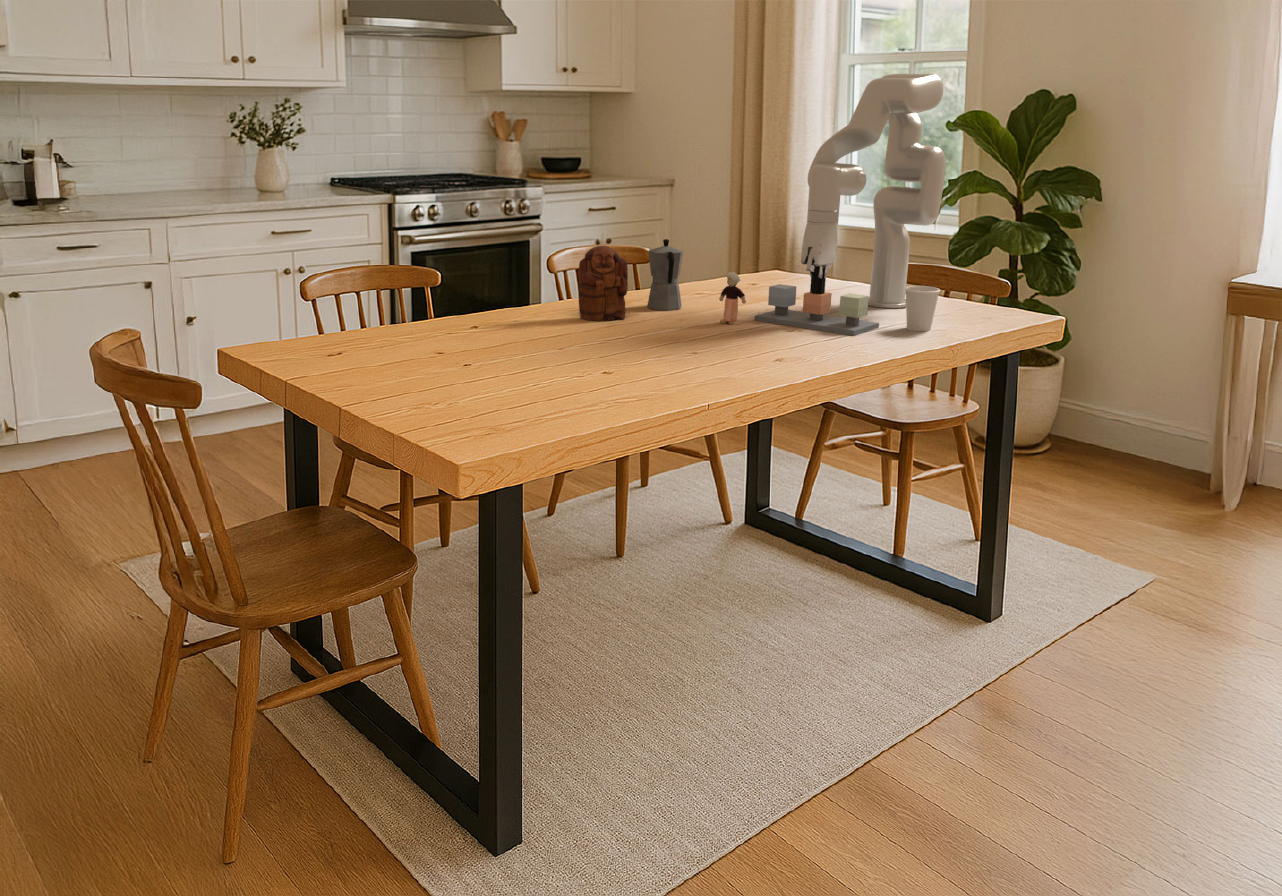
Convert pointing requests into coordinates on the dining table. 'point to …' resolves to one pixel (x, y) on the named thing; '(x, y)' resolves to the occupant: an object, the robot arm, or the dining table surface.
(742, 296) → the grandmother figurine
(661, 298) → the coffeepot
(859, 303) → the button sage
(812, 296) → the button terracotta
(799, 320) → the button board
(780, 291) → the button slate
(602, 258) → the wooden figurine
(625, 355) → the dining table surface
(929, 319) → the dixie cup
